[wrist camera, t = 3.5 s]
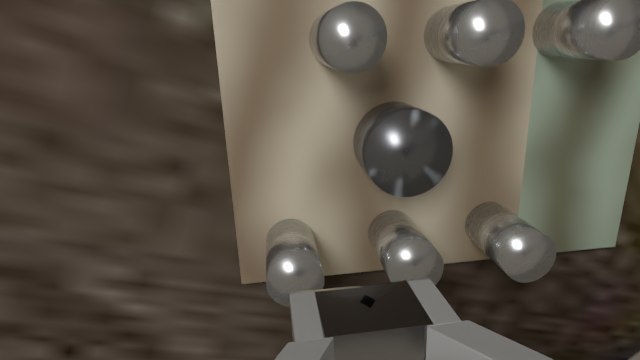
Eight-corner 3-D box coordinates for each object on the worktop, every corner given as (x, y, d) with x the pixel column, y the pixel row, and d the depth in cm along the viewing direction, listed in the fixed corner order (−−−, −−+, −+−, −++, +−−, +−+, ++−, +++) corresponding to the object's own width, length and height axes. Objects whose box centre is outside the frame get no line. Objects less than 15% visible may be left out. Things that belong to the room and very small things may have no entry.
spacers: (584, 1, 23) (659, -9, 18) (551, 237, 27) (605, 273, 23) (245, 12, 21) (241, 4, 16) (267, 265, 25) (268, 310, 21)
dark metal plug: (432, 99, 23) (455, 107, 20) (428, 176, 25) (450, 193, 22) (352, 103, 23) (365, 112, 20) (353, 182, 24) (365, 200, 21)
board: (654, -22, 23) (668, -24, 23) (605, 241, 28) (615, 246, 28) (211, -10, 21) (209, -12, 20) (242, 277, 26) (241, 284, 25)
